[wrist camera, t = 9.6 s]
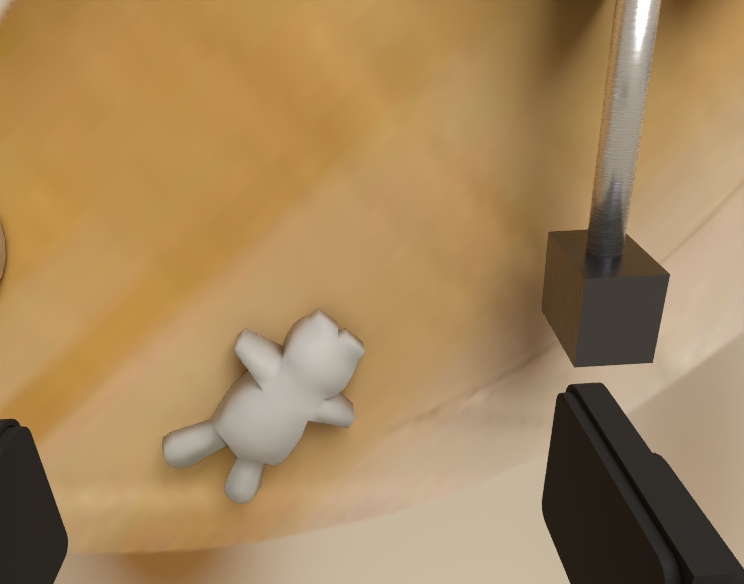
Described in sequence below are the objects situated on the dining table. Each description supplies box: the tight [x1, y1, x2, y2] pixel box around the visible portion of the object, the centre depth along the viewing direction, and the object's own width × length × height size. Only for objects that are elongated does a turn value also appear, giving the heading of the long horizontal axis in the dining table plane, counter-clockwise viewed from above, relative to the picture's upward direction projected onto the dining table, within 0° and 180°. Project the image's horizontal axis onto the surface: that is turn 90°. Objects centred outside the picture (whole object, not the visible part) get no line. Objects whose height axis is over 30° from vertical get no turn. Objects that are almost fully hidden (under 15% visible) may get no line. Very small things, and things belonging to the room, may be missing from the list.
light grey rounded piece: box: [162, 309, 365, 504], centre depth 41 cm, size 10×5×15 cm
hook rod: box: [542, 0, 670, 367], centre depth 28 cm, size 23×4×6 cm, turn 3°
